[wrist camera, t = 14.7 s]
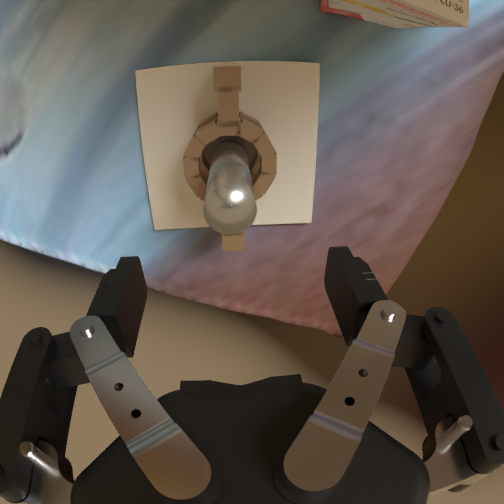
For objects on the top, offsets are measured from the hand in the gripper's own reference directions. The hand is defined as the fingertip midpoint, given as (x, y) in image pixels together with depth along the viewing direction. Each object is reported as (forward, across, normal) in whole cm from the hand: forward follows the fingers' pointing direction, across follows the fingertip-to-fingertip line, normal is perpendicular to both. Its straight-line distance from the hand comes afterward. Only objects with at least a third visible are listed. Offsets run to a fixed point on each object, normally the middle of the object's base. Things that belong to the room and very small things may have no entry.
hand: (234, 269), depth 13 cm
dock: (+20, 0, 0) cm, 20 cm away
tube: (+19, 0, 0) cm, 19 cm away
